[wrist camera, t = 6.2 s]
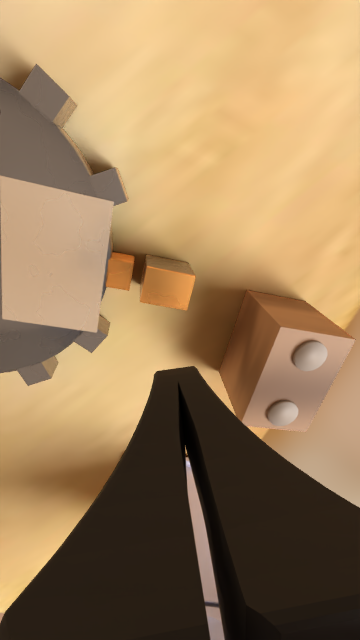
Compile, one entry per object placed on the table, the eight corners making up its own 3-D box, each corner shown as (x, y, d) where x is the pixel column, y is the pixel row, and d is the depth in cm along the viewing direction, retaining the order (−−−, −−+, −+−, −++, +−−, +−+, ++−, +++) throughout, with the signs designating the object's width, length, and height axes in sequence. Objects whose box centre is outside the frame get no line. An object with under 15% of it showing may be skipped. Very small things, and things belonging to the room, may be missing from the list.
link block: (246, 289, 18) (282, 328, 13) (304, 300, 19) (358, 341, 14) (218, 370, 20) (241, 428, 16) (271, 377, 21) (308, 434, 16)
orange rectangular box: (188, 262, 17) (195, 276, 14) (180, 292, 17) (187, 310, 15) (146, 254, 16) (146, 267, 14) (140, 285, 17) (139, 302, 15)
